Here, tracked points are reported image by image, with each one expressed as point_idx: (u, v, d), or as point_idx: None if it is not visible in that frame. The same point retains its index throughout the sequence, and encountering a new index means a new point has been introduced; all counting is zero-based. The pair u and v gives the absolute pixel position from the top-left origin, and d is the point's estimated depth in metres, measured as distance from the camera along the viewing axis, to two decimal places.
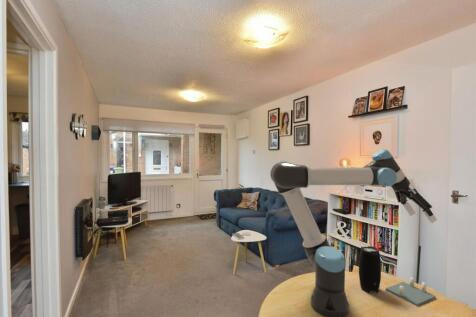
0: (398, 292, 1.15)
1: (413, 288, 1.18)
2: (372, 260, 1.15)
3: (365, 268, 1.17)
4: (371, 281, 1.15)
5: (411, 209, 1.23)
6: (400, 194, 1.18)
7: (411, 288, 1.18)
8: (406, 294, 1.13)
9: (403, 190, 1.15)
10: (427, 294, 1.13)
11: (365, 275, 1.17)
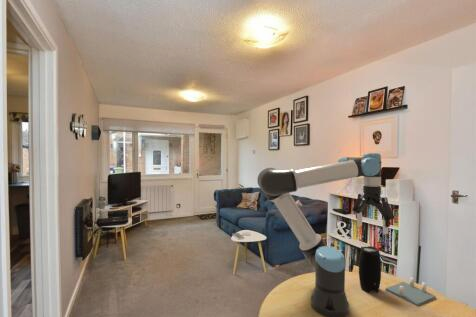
0: (398, 292, 1.15)
1: (413, 288, 1.18)
2: (372, 260, 1.15)
3: (365, 268, 1.17)
4: (371, 281, 1.15)
5: (361, 220, 1.25)
6: (366, 200, 1.19)
7: (411, 288, 1.18)
8: (406, 294, 1.13)
9: (373, 196, 1.17)
10: (427, 294, 1.13)
11: (365, 275, 1.17)
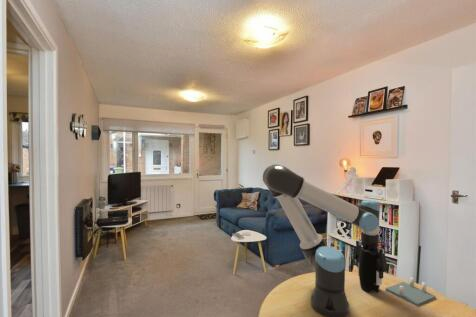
0: (398, 292, 1.15)
1: (413, 288, 1.18)
2: (372, 260, 1.15)
3: (365, 268, 1.17)
4: (371, 280, 1.15)
5: None
6: (364, 247, 1.19)
7: (411, 288, 1.18)
8: (406, 294, 1.13)
9: (371, 244, 1.17)
10: (427, 294, 1.13)
11: (365, 274, 1.17)
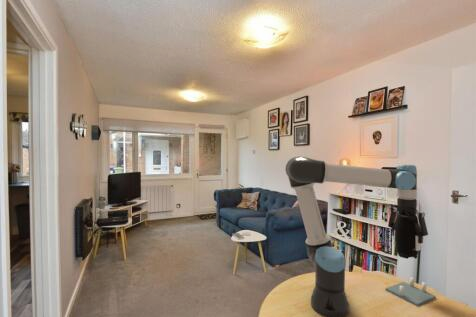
0: (398, 292, 1.15)
1: (413, 288, 1.18)
2: (411, 225, 1.11)
3: (403, 234, 1.13)
4: (410, 246, 1.11)
5: None
6: (401, 213, 1.15)
7: (411, 288, 1.18)
8: (406, 294, 1.13)
9: (409, 209, 1.13)
10: (427, 294, 1.13)
11: (403, 240, 1.13)
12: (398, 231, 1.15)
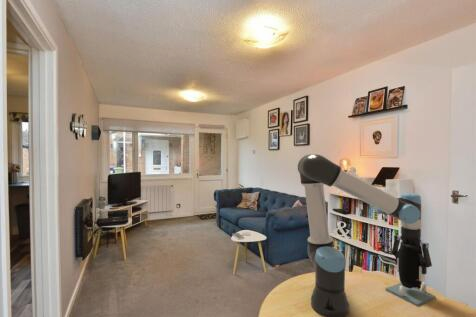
0: (398, 292, 1.15)
1: (413, 288, 1.18)
2: (414, 255, 1.11)
3: (407, 263, 1.12)
4: (414, 276, 1.11)
5: None
6: (405, 242, 1.15)
7: (411, 288, 1.18)
8: (406, 294, 1.13)
9: (413, 238, 1.13)
10: (427, 294, 1.13)
11: (406, 270, 1.12)
12: (402, 260, 1.14)
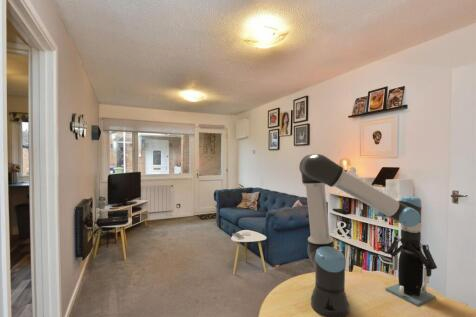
0: (398, 292, 1.15)
1: None
2: (415, 262, 1.11)
3: (407, 270, 1.12)
4: (413, 283, 1.11)
5: (396, 264, 1.21)
6: (404, 245, 1.15)
7: None
8: (406, 294, 1.13)
9: (412, 242, 1.13)
10: (427, 294, 1.13)
11: (406, 277, 1.12)
12: (402, 267, 1.14)
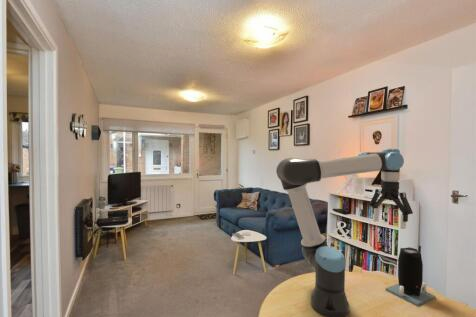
0: (398, 292, 1.15)
1: None
2: (414, 262, 1.11)
3: (406, 270, 1.12)
4: (413, 283, 1.11)
5: (377, 215, 1.26)
6: (384, 195, 1.21)
7: None
8: (406, 294, 1.13)
9: (391, 191, 1.18)
10: (427, 294, 1.13)
11: (406, 277, 1.12)
12: (401, 267, 1.14)
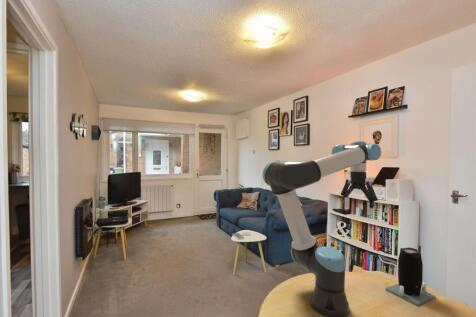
0: (398, 292, 1.15)
1: None
2: (414, 262, 1.11)
3: (406, 270, 1.12)
4: (413, 283, 1.11)
5: (348, 204, 1.36)
6: (353, 184, 1.30)
7: None
8: (406, 294, 1.13)
9: (359, 181, 1.28)
10: (427, 294, 1.13)
11: (406, 277, 1.12)
12: (401, 267, 1.14)
